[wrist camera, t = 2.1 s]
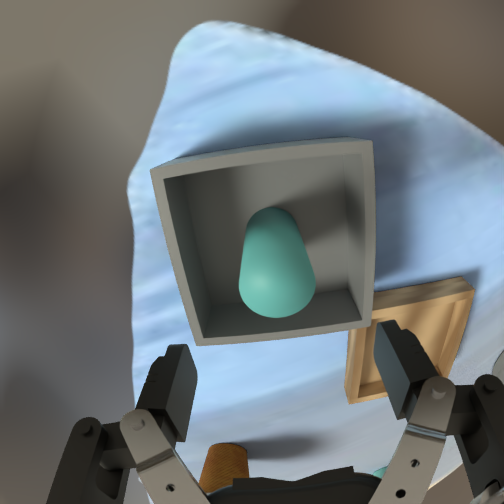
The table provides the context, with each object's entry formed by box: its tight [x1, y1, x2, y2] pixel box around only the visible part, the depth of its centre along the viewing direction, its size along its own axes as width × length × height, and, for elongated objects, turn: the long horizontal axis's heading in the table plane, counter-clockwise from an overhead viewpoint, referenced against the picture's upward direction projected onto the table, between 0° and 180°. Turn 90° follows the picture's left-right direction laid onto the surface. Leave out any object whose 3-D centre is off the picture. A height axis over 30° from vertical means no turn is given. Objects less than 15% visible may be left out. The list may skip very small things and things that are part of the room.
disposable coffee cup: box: [199, 443, 249, 495], centre depth 36 cm, size 10×10×12 cm
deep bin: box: [150, 137, 376, 346], centre depth 24 cm, size 15×15×6 cm
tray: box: [344, 276, 475, 404], centre depth 30 cm, size 14×14×3 cm
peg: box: [239, 207, 316, 318], centre depth 21 cm, size 4×4×9 cm
